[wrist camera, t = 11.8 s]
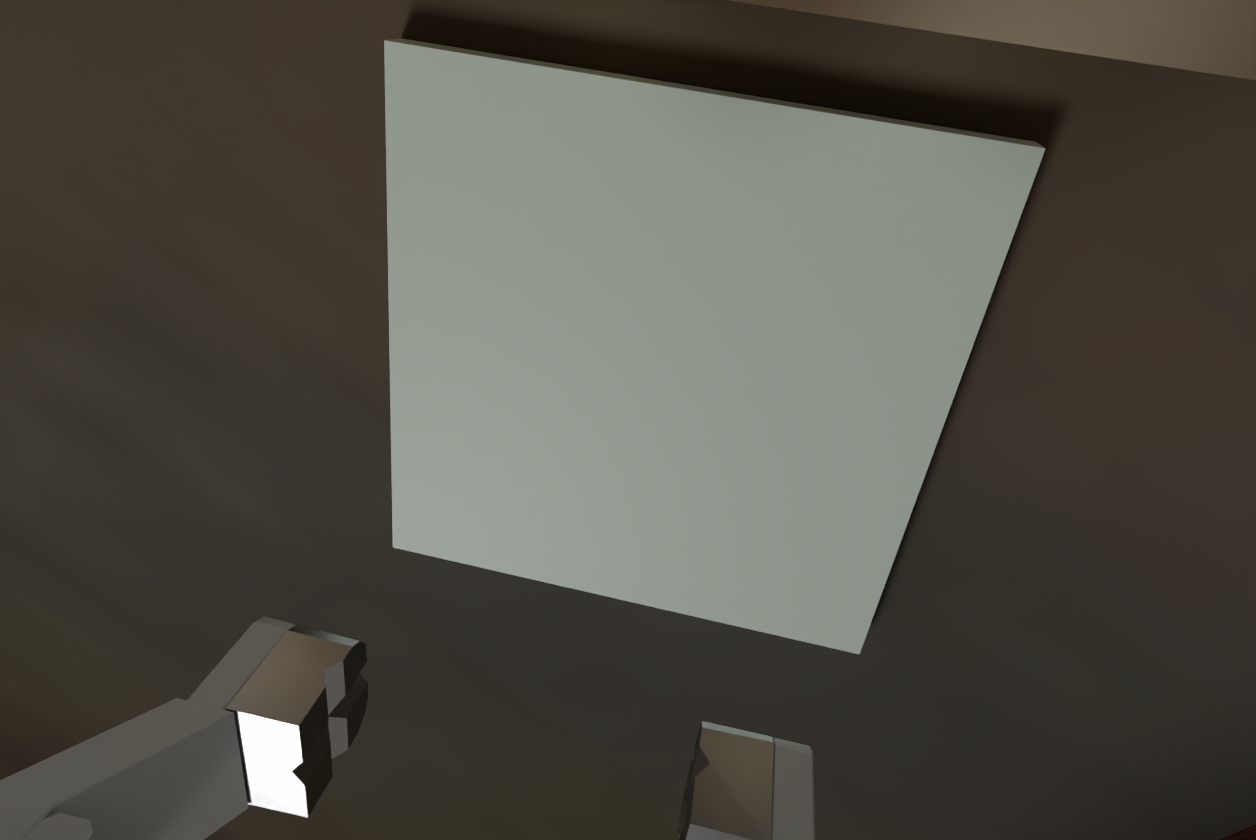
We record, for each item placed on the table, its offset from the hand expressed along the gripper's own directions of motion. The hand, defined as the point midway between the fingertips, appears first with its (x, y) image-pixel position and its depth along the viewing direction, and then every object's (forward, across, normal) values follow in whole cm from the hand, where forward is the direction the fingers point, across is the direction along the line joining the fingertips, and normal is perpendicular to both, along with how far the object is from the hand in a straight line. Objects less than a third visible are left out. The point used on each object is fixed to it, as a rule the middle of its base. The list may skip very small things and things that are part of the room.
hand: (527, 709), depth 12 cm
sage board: (+11, 0, 0) cm, 11 cm away
